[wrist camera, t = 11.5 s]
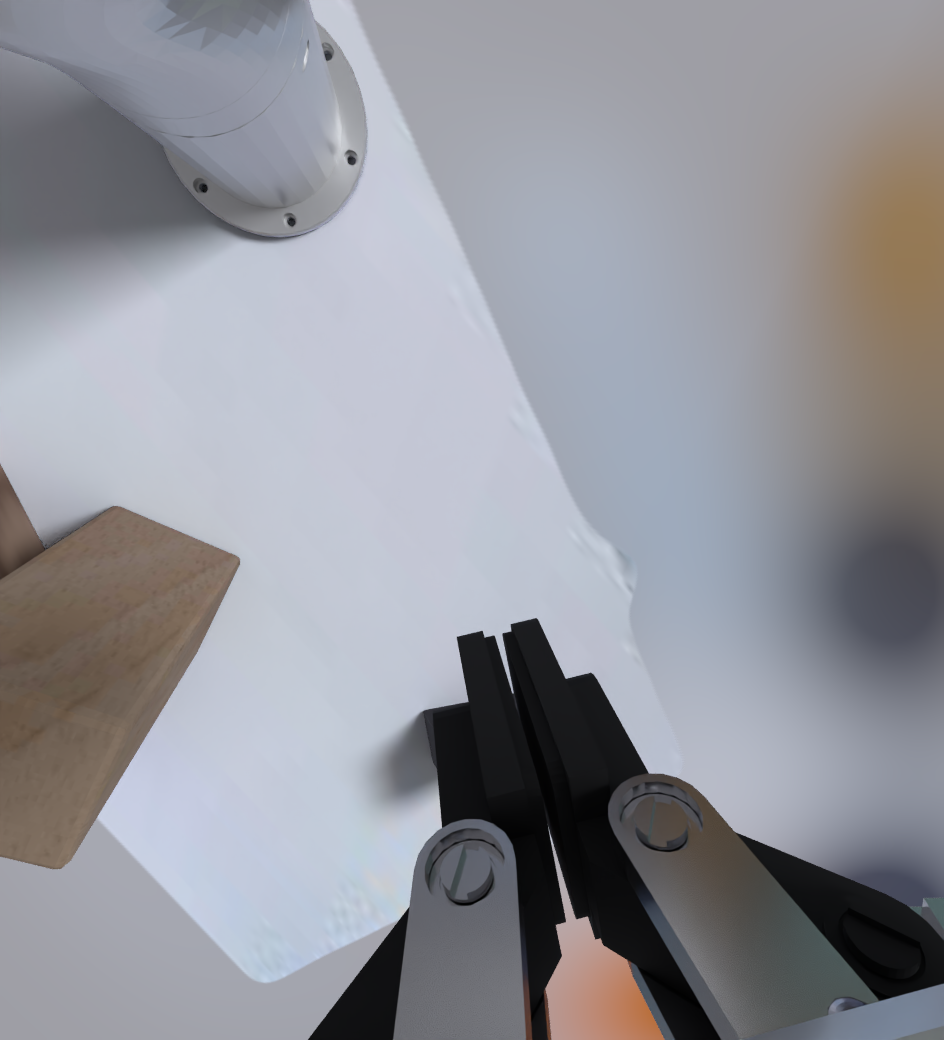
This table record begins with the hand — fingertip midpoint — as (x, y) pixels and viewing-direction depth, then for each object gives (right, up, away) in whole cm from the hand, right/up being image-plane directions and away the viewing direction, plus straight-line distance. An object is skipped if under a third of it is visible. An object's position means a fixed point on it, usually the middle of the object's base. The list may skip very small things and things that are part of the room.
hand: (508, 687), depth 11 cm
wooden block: (-26, -1, +33) cm, 42 cm away
